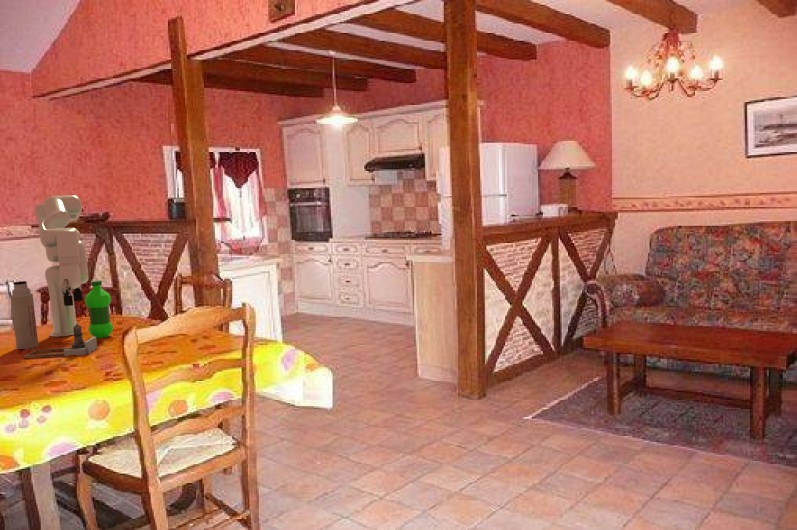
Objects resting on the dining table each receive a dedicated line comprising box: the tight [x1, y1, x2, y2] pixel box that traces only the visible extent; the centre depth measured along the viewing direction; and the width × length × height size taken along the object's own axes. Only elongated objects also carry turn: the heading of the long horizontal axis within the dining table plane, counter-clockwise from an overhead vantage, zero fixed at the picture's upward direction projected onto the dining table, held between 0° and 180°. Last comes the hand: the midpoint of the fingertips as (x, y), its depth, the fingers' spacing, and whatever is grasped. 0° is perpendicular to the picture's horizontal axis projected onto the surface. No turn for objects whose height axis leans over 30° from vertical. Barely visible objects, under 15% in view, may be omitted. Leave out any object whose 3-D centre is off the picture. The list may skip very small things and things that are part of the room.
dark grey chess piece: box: [70, 323, 85, 349], centre depth 261 cm, size 6×6×12 cm
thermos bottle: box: [10, 280, 39, 350], centre depth 273 cm, size 8×8×28 cm
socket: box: [63, 336, 98, 357], centre depth 261 cm, size 10×9×5 cm
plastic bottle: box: [84, 279, 114, 339], centre depth 288 cm, size 10×10×25 cm
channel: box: [23, 346, 73, 360], centre depth 261 cm, size 10×15×1 cm, turn 96°
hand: (73, 303), depth 261 cm, fingers open, 9 cm apart
